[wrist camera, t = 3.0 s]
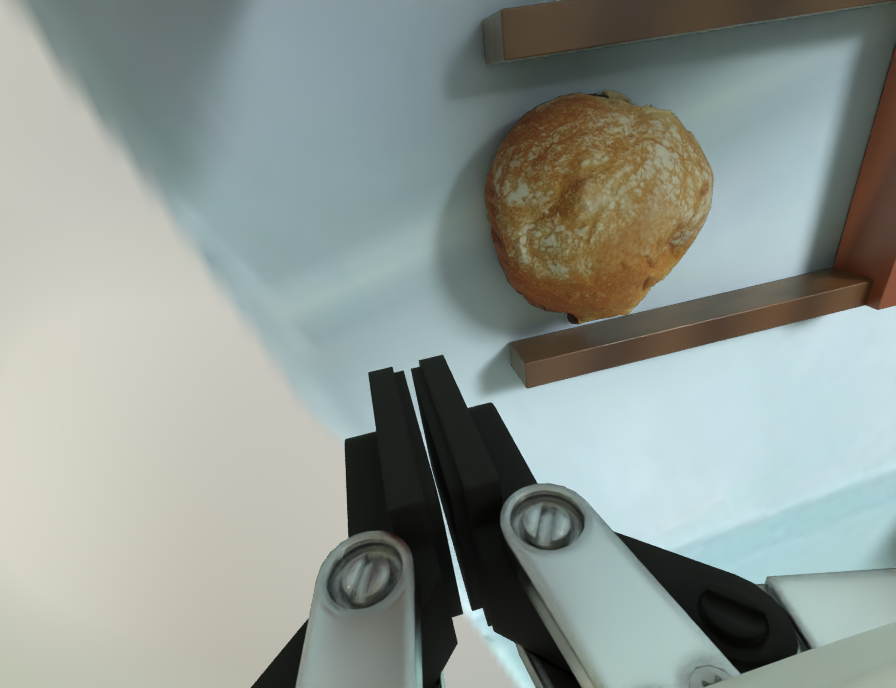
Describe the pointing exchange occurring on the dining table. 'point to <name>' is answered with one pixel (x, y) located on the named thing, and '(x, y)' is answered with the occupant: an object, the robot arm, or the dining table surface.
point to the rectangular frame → (731, 313)
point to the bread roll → (595, 202)
